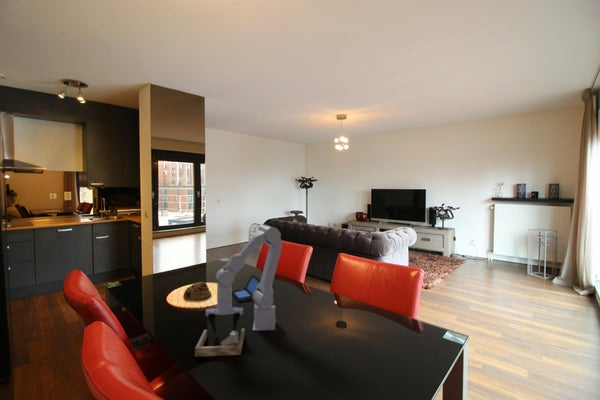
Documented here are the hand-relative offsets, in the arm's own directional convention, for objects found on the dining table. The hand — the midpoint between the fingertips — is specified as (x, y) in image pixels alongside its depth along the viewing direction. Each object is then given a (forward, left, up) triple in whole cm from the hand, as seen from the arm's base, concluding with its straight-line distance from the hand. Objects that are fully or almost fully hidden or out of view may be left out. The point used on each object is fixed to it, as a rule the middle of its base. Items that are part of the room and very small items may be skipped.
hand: (224, 331), depth 112 cm
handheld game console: (-4, -42, -2) cm, 42 cm away
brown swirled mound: (+23, -43, -2) cm, 49 cm away
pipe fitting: (-3, +7, -2) cm, 8 cm away
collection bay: (0, +6, -2) cm, 6 cm away
